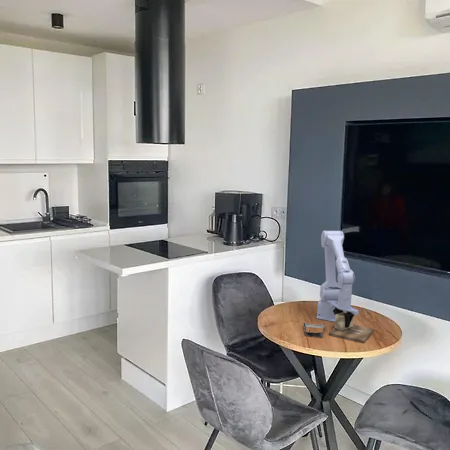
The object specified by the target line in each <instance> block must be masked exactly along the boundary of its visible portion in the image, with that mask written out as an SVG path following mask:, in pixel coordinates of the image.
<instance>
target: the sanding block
mask: <svg viewBox="0 0 450 450" xmlns="http://www.w3.org/2000/svg"><path fill="white" fill-rule="evenodd" d="M344 313H347V312H346V311H343V312H342V313H339V314H335V322H334V327H335V329H336V330H339V331H341V332H342V331H345V330H348V329H351V328H353V325H354V317H353V318H352V320H351V322H350V325H349V327H348V328H345V316H344Z"/></svg>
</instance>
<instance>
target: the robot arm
mask: <svg viewBox="0 0 450 450" xmlns="http://www.w3.org/2000/svg"><path fill="white" fill-rule="evenodd" d="M344 240H345V233H344V232H343V230H322V232H321V235H320V243H321V248H323V249H324V263H325V264H324V266H325V267H324V268H325V281H324V282H323V283H322V284H321V285H320V291H319V298H320V299H319V300H318V301H317V312H316V319H319V320H322V321H323V320H324V321H329V322H334V323H335V314H339V313H342V312H345V311H346V312H347V313H344V316H345V328H348V327H349V325H350V322H351V320H352V318H353V319H354V317H355V316H359V312H360V311H359V310H358V309H356V308H354V307H352V295H353V293H352V292H353V285H354V284H355V282H356V276H355V273H354V271H353V269H351V268H350V264H349V263H350V262H349V261H348V260H349V259H348V258H346V257H345V253H344V247H343V244H344ZM336 270H337V275H336Z"/></svg>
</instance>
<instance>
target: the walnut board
mask: <svg viewBox="0 0 450 450" xmlns="http://www.w3.org/2000/svg"><path fill="white" fill-rule="evenodd" d="M374 332H375V328H371V327H367V326H364V325H356V324H353V328H351V329H348V330H345V331H342V332H341V331H339V330H336V329H335V326H334V327H333V328H332V329H331V330H330V331H329V332H328V336H331V337H334V338H339V339H344V340H348V341H352V342H356V343H362V344H365V343H366V341H367V340H368V339H369V338H370V337H371V336H372V334H373V333H374Z"/></svg>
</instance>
